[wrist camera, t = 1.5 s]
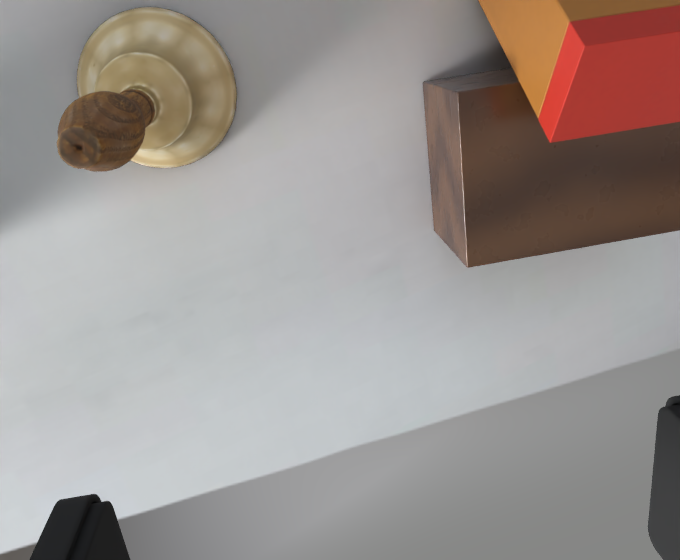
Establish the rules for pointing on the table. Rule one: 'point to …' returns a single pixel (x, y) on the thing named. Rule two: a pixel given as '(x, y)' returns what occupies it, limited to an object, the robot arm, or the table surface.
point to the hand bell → (148, 94)
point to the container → (593, 61)
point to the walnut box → (539, 175)
